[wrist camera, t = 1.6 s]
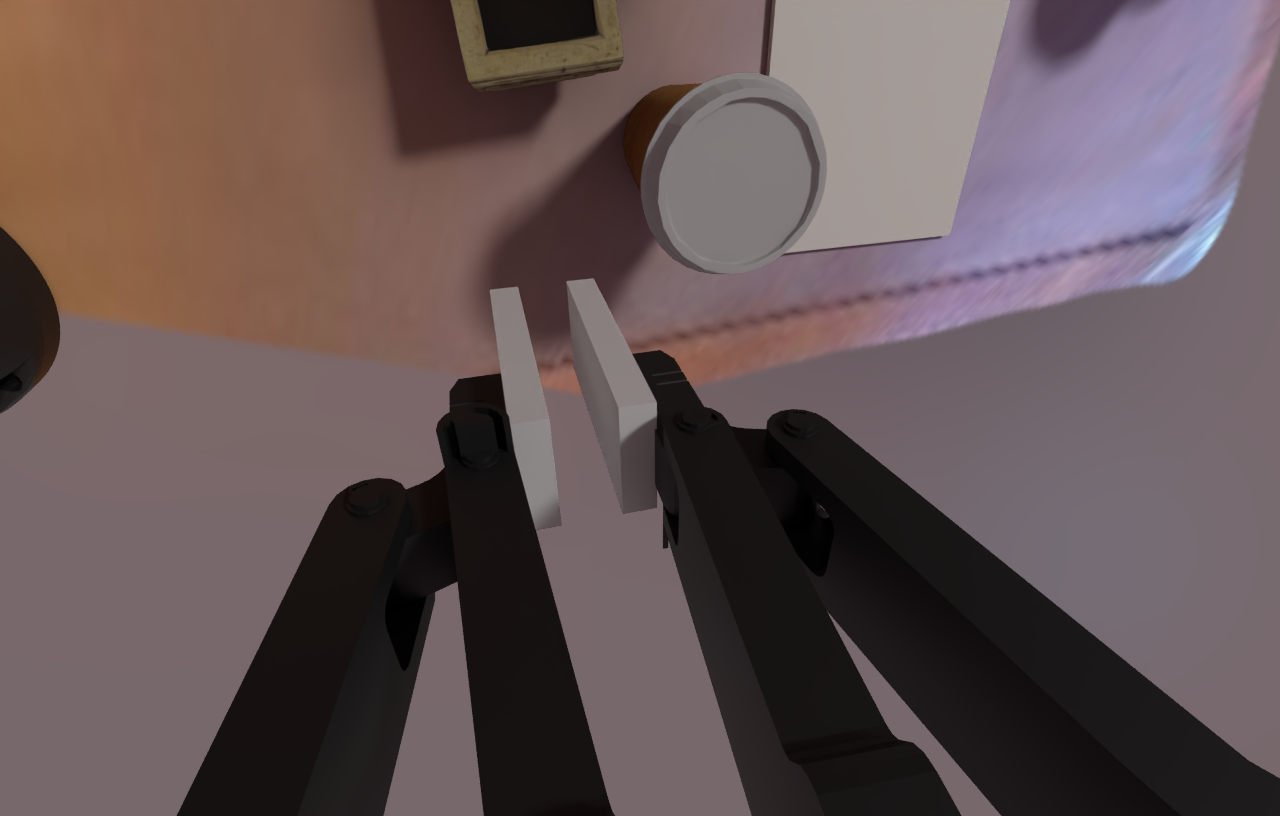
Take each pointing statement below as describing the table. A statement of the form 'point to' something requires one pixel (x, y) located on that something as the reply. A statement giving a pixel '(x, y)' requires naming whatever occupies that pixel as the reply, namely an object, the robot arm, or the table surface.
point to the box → (536, 40)
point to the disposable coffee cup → (726, 170)
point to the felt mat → (888, 107)
